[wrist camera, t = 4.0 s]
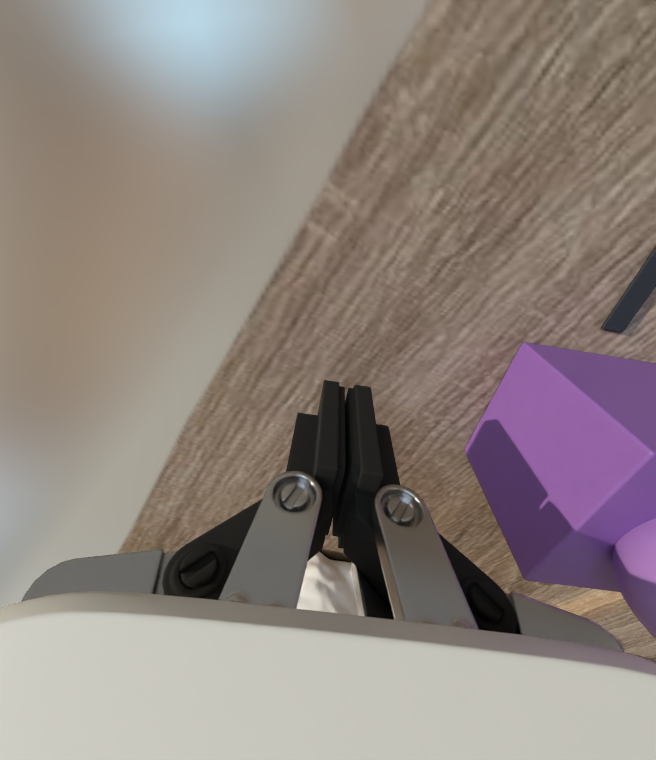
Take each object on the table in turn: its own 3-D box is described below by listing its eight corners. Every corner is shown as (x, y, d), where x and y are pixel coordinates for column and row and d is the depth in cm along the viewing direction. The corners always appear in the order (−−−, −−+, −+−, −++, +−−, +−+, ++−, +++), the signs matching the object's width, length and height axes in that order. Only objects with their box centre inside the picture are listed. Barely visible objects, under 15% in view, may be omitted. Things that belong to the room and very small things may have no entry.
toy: (522, 341, 12) (853, 623, 4) (665, 364, 12) (1220, 668, 5) (463, 449, 15) (589, 724, 7) (577, 466, 15) (815, 747, 8)
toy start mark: (658, 243, 10) (660, 243, 10) (680, 247, 10) (683, 247, 10) (600, 328, 12) (602, 328, 12) (620, 331, 12) (622, 332, 12)
